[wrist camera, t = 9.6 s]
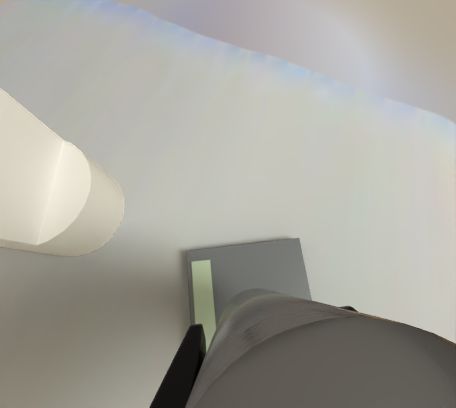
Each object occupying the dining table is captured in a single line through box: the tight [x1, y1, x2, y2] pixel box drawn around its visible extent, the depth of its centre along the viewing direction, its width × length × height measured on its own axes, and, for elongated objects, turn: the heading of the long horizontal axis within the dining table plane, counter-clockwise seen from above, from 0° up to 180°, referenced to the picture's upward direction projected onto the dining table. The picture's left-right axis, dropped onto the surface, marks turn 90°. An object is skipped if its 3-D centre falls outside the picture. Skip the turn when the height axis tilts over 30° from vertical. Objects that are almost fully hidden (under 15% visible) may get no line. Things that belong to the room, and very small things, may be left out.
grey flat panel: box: [187, 238, 312, 353], centre depth 20 cm, size 12×10×1 cm
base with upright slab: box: [0, 88, 125, 257], centre depth 19 cm, size 9×9×12 cm
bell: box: [185, 288, 456, 408], centre depth 8 cm, size 5×5×14 cm
